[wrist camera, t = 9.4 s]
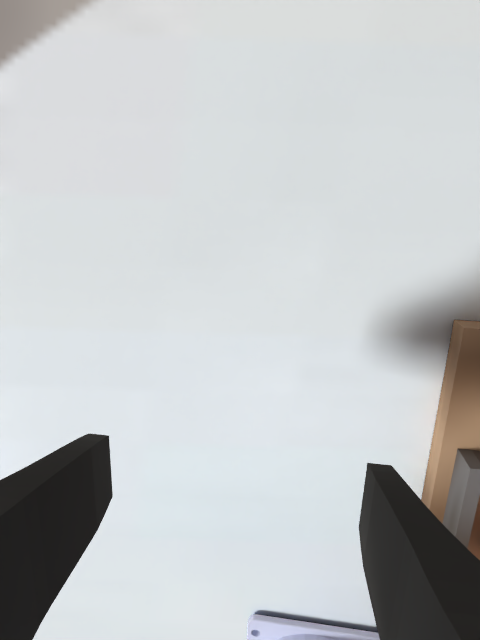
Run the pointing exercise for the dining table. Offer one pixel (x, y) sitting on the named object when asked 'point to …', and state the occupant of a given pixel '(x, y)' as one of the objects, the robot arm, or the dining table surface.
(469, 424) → the gear board
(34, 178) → the dining table surface
